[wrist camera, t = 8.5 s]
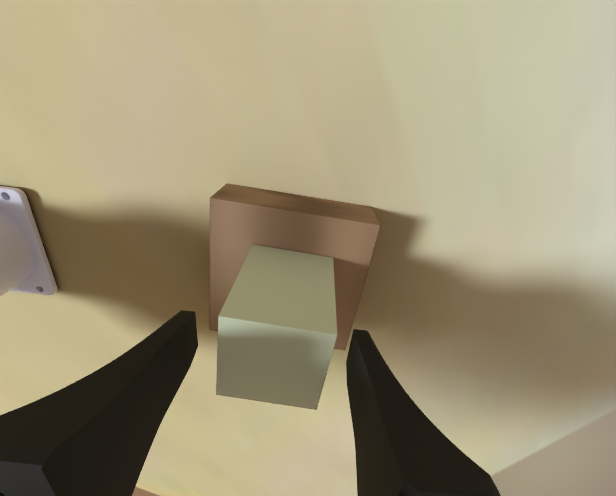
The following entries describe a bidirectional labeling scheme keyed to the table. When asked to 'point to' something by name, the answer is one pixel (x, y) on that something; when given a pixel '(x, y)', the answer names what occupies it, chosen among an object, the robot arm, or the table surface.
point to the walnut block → (291, 241)
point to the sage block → (278, 328)
